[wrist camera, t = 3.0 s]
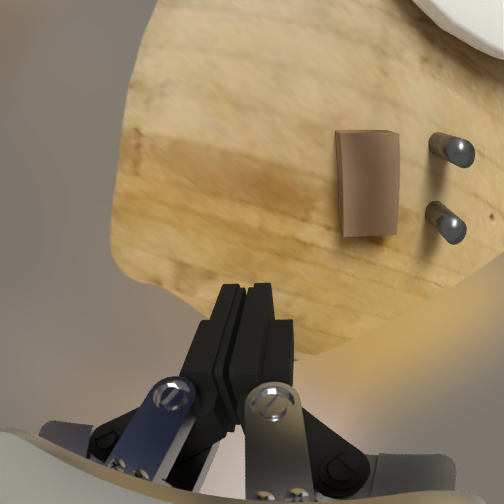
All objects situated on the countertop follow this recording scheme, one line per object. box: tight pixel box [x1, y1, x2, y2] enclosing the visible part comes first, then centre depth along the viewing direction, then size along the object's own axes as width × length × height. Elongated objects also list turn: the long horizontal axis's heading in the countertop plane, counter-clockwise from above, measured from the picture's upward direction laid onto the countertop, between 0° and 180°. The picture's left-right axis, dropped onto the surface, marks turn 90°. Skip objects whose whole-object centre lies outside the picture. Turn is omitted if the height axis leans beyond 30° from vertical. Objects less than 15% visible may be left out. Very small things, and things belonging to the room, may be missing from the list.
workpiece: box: [335, 130, 400, 237], centre depth 24 cm, size 5×9×4 cm, turn 7°
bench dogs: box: [425, 132, 475, 245], centre depth 21 cm, size 2×9×5 cm, turn 7°
